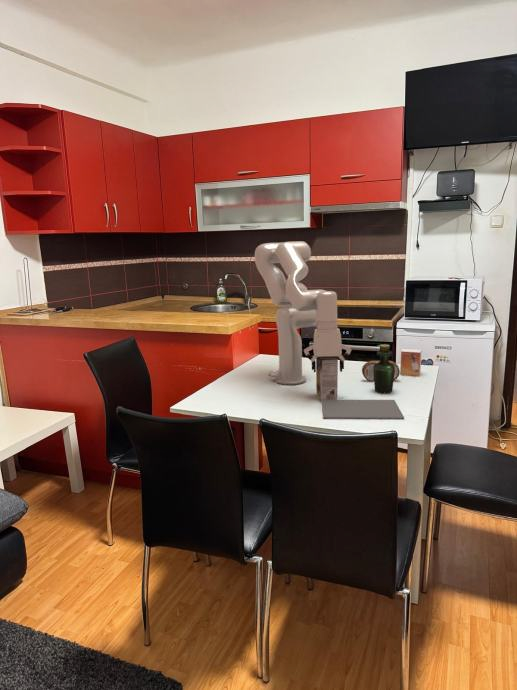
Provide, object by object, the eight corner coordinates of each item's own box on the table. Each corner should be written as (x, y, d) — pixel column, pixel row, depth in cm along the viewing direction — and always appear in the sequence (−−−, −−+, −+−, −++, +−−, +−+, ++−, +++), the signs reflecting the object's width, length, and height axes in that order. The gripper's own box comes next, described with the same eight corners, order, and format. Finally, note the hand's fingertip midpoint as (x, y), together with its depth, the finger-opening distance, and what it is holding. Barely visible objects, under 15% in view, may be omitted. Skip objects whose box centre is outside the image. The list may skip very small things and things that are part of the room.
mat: (323, 418, 162) (323, 417, 162) (321, 401, 179) (321, 399, 179) (404, 419, 159) (404, 417, 159) (394, 401, 177) (394, 399, 177)
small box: (399, 375, 209) (400, 351, 207) (401, 371, 214) (402, 348, 212) (419, 376, 206) (420, 352, 204) (420, 373, 211) (421, 349, 209)
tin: (398, 379, 203) (399, 360, 201) (400, 382, 200) (400, 362, 198) (361, 379, 204) (362, 360, 203) (362, 382, 201) (362, 362, 200)
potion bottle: (373, 387, 194) (374, 342, 190) (395, 388, 191) (396, 343, 187) (371, 393, 186) (372, 347, 182) (393, 395, 183) (394, 348, 180)
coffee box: (315, 393, 188) (315, 352, 185) (332, 392, 189) (332, 351, 185) (320, 401, 179) (320, 358, 176) (337, 400, 180) (338, 357, 176)
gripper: (303, 327, 175) (304, 374, 178) (352, 326, 173) (352, 373, 177) (303, 324, 182) (304, 369, 186) (350, 323, 181) (350, 368, 184)
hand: (327, 371), depth 181 cm, fingers open, 9 cm apart
